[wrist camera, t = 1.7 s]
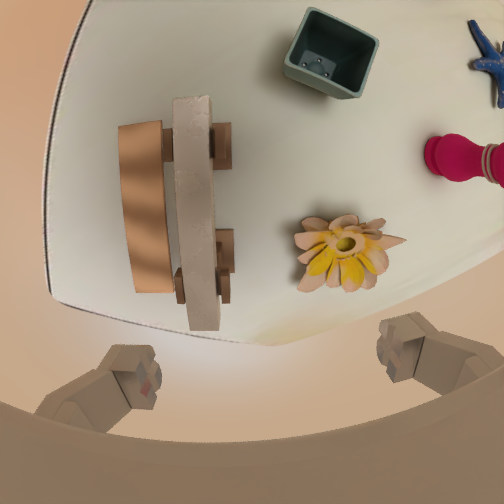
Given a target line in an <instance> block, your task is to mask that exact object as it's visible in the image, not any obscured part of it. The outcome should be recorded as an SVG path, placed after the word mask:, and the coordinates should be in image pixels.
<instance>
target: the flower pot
mask: <svg viewBox="0 0 504 504" xmlns="http://www.w3.org/2000/svg"><path fill="white" fill-rule="evenodd" d="M378 46H379V40H378V39H377V38H375V37H374V36H372V35H370V34H369V33H367V32H365V31H363V30H361V29H359V28H357V27H355V26H353V25H351V24H349V23H347V22H345V21H343V20H341V19H339V18H337V17H334V16H332V15H330V14H328V13H326V12H323V11H321V10H319V9H317V8H314V7H309V8H308V9H307V11H306V13H305V15H304V17H303V20H302V22H301V24H300V26H299V29H298V31H297V33H296V35H295V37H294V40H293V42H292V44H291V46H290V48H289V50H288V52H287V54H286V57H285V59H284V65H283V73H284V74H285V76H287V77H288V78H291V79H293V80H296V81H298V82H301V83H303V84H305V85H308V86H310V87H312V88H314V89H317V90H319V91H321V92H323V93H325V94H327V95H329V96H331V97H333V98H336V99H351V98H359V97H361V95H362V93H363V90H364V87H365V84H366V81H367V78H368V75H369V72H370V69H371V66H372V63H373V60H374V58H375V55H376V52H377V49H378ZM318 59H320V60H321V62H318V61H317V60H318ZM303 63H305V64H306V66H303ZM325 73H328V76H325Z"/></svg>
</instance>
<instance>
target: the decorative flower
mask: <svg viewBox="0 0 504 504" xmlns="http://www.w3.org/2000/svg"><path fill="white" fill-rule="evenodd" d="M385 223H386V221H385V220H384V219H383V218H379V219H374V220H372V221H371V222H369V223H367V224H366V222H365V223H362V224H360V225H359V220H358V216H357V217H356V216H354V215H350V214H348V215H344V216H341V217H339V218H337V219H335V220H334V221H329V223H327V222H326V221H324V220H323V219H321V218H316V217H309V218H306V219H305V220H303V221H302V225H303V227H304V229H305V230H306V232H302V233H297V234H295V236H294V238H295V243H296V245H297V246H298V247H299V248H301V249H304V250H306V252H305V253H303V254H302V255H300V256H298V260H299V261H300V262H301V263H303V264H309V265H308V266H307V268H306V272H305V274H304V276H303V278H302V279H301V281H300V284H299V286H298V288H297V290H299V291H302V292H311V291H314V290H316V289H317V288H319V287H320V286H322V285H323V284H324V282H325V281H326V280H327V281H326V286H328V287H331V288H332V287H337V286H339V285H340V284H342V288H343V289H344V290H345V292H354V291H356V290H358V289H359V288H360V287H362V288H364V289H366V290H368V289H371V288H372V287H374V286H375V284H376V282H377V275H380V274H382V273H384V272H385V271H386V269H387V268H388V265H389V260H388V256H387V254H386V252H385V251H384V250H386V249H388V248H391V247H393V246H395V245H398V244H400V243H403V242H404V241H407V240H406V239H403V238H399V237H395V236H390V235H385V234H382V231H378V230H375V229H379V228H381V227H383V226H384V224H385Z"/></svg>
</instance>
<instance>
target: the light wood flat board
mask: <svg viewBox="0 0 504 504" xmlns="http://www.w3.org/2000/svg"><path fill="white" fill-rule="evenodd" d="M118 134H119V164H120V180H121V192H122V203H123V213H124V221H125V229H126V237H127V244H128V251H129V257H130V263H131V269H132V275H133V280H134V285H135V290H136V293H174V291H175V289H174V282H173V274H172V266H171V258H170V249H169V239H168V229H167V218H166V206H165V191H164V174H163V149H162V121H161V120H159V121H151V122H144V123H137V124H131V125H125V126H119V127H118Z"/></svg>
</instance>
